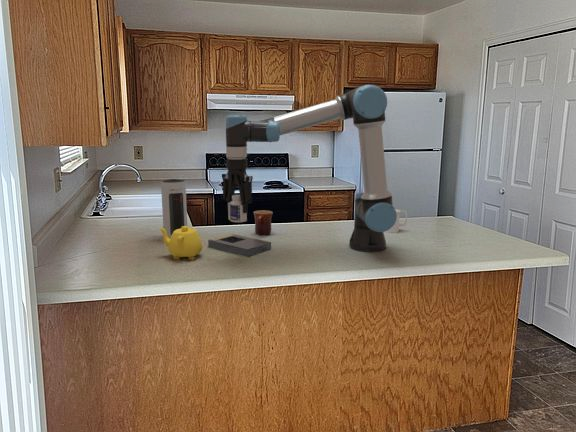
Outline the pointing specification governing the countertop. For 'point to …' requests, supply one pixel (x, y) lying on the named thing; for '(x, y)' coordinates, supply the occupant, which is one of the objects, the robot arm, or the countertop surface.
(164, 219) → the speaker
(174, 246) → the teapot
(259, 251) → the grey flat block
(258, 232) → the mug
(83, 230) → the countertop surface
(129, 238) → the countertop surface
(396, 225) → the cup
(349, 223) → the countertop surface
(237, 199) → the pill bottle
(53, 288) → the countertop surface
